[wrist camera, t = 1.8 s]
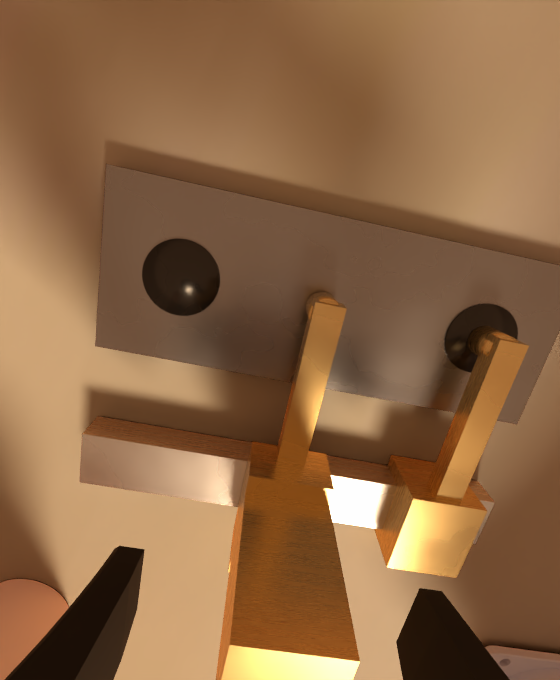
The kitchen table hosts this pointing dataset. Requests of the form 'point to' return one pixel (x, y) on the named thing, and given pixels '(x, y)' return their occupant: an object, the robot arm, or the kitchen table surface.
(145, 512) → the kitchen table surface
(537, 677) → the robot arm
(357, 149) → the kitchen table surface
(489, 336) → the dividers bar
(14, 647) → the smoothie
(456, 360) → the flange plate
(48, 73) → the kitchen table surface
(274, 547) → the orange block with stem
